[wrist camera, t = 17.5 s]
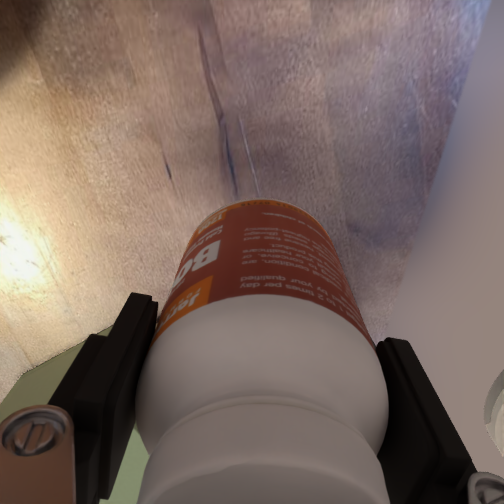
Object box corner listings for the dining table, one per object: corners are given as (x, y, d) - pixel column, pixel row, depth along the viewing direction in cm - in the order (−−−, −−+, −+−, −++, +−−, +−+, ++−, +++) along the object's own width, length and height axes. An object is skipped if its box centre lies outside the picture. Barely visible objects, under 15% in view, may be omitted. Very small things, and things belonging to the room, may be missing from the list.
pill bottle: (202, 174, 16) (105, 380, 6) (356, 215, 16) (517, 466, 6) (172, 309, 18) (67, 618, 8) (306, 340, 19) (364, 663, 9)
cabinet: (135, 312, 36) (98, 392, 28) (208, 398, 41) (196, 491, 32) (21, 374, 39) (-45, 464, 31) (100, 448, 44) (62, 546, 35)
